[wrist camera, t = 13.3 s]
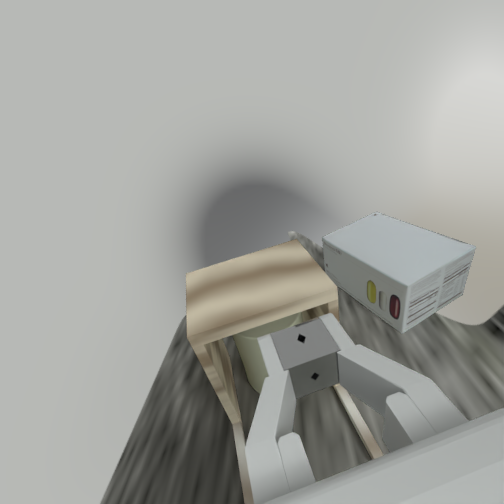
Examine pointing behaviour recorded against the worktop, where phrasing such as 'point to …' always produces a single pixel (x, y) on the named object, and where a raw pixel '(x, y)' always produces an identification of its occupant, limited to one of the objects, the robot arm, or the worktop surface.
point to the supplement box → (397, 268)
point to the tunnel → (257, 321)
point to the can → (251, 349)
